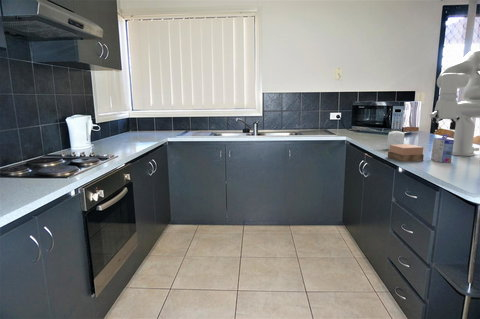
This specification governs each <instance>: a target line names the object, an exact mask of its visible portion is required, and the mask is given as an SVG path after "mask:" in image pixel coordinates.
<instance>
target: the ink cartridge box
mask: <svg viewBox="0 0 480 319" xmlns="http://www.w3.org/2000/svg"><path fill="white" fill-rule="evenodd" d="M449 136H450V135H449V134H445V133H444V134H443V135H442V137H433V140H432V147H431V154H430V159H431V160H433V161H436V162H439V163H452V159H453V155H452V152H453V144H454V139H451V138H450V139H448V137H449Z"/></svg>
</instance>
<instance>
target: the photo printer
mask: <svg viewBox="0 0 480 319" xmlns="http://www.w3.org/2000/svg"><path fill="white" fill-rule="evenodd" d="M386 142H387V143H386V150H388V151H389V150H390V145H399V144H404V142H405V133H404V132H403V131H398V130H394V131H389V132H388V134H387V141H386Z"/></svg>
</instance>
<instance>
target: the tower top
mask: <svg viewBox="0 0 480 319" xmlns="http://www.w3.org/2000/svg"><path fill="white" fill-rule="evenodd" d="M388 151H389V152H393V153H396V154H400V155H420V154H423V155H424V147H423V146H420V145H415V144H411V143H406V144H399V145H390V150H388Z"/></svg>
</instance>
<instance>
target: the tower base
mask: <svg viewBox="0 0 480 319" xmlns="http://www.w3.org/2000/svg"><path fill="white" fill-rule="evenodd" d="M387 158H388V159H392V160H394V161H398V162H400V163H402V162H403V163H404V162H406V163H407V162H423V161H424V153H423V154H420V155H400V154H396V153H393V152H389V150H388V151H387Z"/></svg>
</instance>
